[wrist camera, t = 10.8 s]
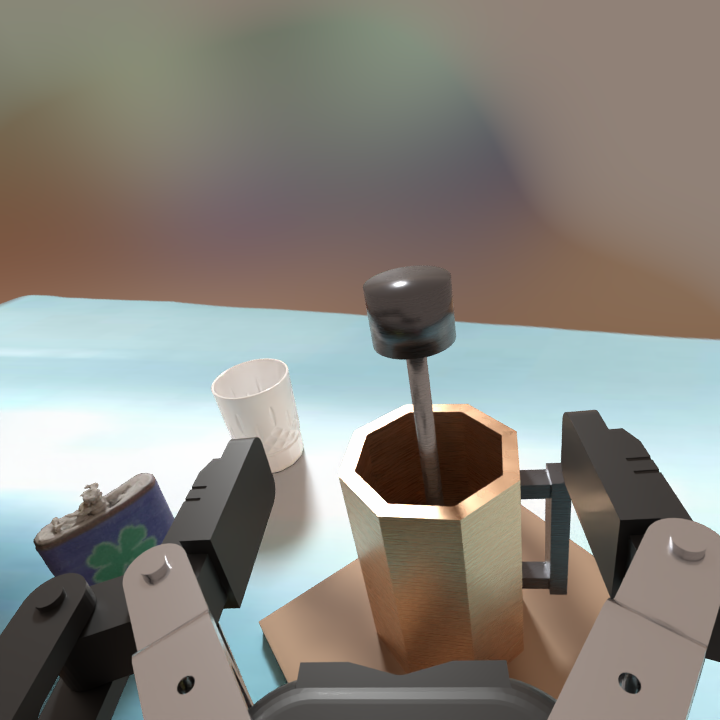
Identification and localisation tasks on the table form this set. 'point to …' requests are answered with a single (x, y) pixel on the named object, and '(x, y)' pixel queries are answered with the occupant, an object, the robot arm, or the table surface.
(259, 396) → the white cup
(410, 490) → the press beaker
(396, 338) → the plunger
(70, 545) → the grey and blue model
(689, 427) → the table surface
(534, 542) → the walnut board
